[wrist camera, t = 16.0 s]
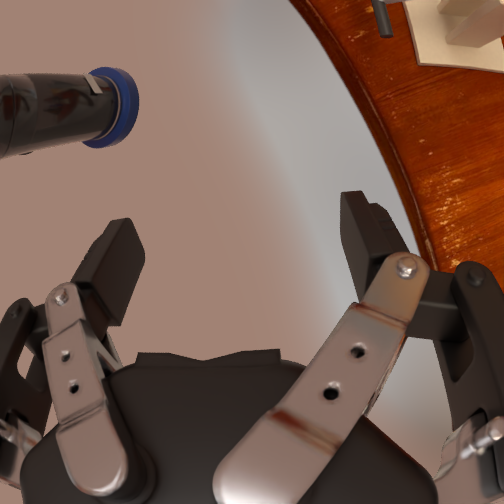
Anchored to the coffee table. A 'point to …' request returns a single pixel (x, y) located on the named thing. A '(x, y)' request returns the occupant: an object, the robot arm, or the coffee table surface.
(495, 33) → the bracket
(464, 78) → the coffee table surface
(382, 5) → the grey t-shaped bar
